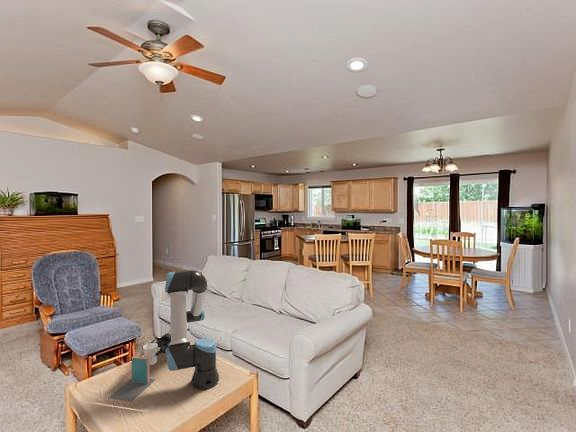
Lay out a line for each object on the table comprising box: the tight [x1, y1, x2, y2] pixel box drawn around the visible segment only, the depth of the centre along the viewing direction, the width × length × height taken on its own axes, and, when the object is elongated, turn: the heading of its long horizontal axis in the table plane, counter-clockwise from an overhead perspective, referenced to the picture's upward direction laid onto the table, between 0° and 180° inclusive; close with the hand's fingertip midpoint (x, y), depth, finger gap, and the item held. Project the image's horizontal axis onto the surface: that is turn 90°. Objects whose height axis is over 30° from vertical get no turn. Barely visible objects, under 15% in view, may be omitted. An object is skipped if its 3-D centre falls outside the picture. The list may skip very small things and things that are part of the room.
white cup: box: [142, 342, 159, 366], centre depth 179 cm, size 8×8×10 cm
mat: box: [107, 378, 157, 403], centre depth 165 cm, size 14×20×1 cm
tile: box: [131, 355, 150, 384], centre depth 170 cm, size 10×2×14 cm, turn 79°
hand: (145, 356), depth 174 cm, fingers closed on white cup, 8 cm apart
